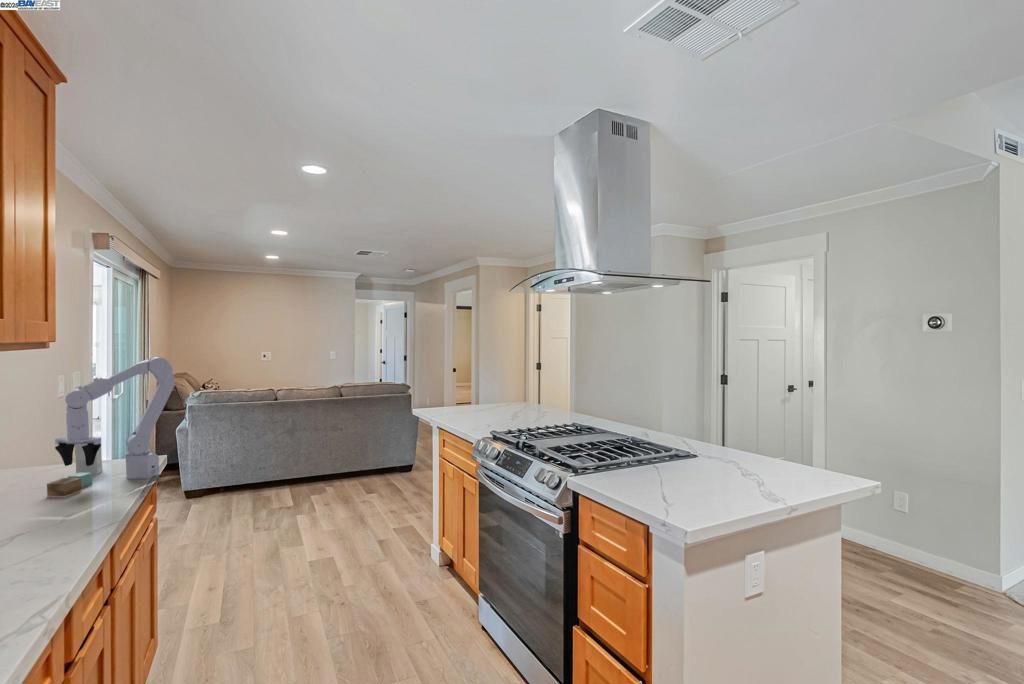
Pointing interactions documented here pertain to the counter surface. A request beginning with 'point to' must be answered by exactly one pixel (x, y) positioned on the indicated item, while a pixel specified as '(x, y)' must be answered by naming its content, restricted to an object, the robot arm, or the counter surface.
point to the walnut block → (64, 487)
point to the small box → (81, 461)
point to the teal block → (83, 478)
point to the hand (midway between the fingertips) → (79, 465)
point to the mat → (63, 496)
